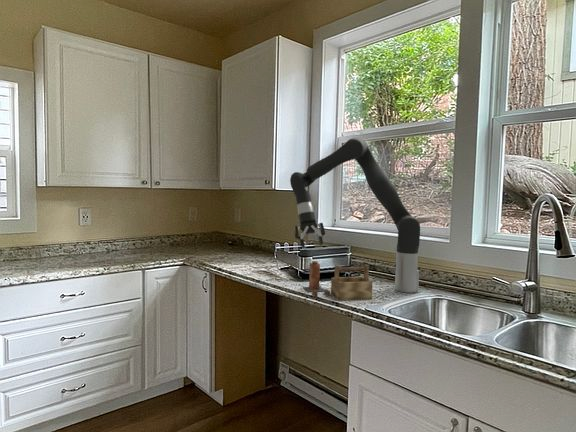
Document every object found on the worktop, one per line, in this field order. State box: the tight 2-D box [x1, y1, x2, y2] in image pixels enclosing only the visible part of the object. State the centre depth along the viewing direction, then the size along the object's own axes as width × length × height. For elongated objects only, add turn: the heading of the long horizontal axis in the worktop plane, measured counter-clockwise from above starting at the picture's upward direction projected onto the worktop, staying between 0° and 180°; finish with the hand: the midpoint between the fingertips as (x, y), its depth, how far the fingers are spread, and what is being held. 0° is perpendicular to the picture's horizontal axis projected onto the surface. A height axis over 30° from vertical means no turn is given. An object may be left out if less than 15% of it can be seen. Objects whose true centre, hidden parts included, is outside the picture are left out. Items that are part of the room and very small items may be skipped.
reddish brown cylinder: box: [308, 260, 321, 290], centre depth 174 cm, size 4×4×12 cm
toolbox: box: [330, 264, 373, 301], centre depth 164 cm, size 14×10×13 cm
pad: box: [302, 285, 325, 293], centre depth 175 cm, size 8×8×1 cm
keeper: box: [311, 288, 331, 298], centre depth 165 cm, size 7×4×2 cm, turn 103°
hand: (312, 246), depth 187 cm, fingers open, 8 cm apart
